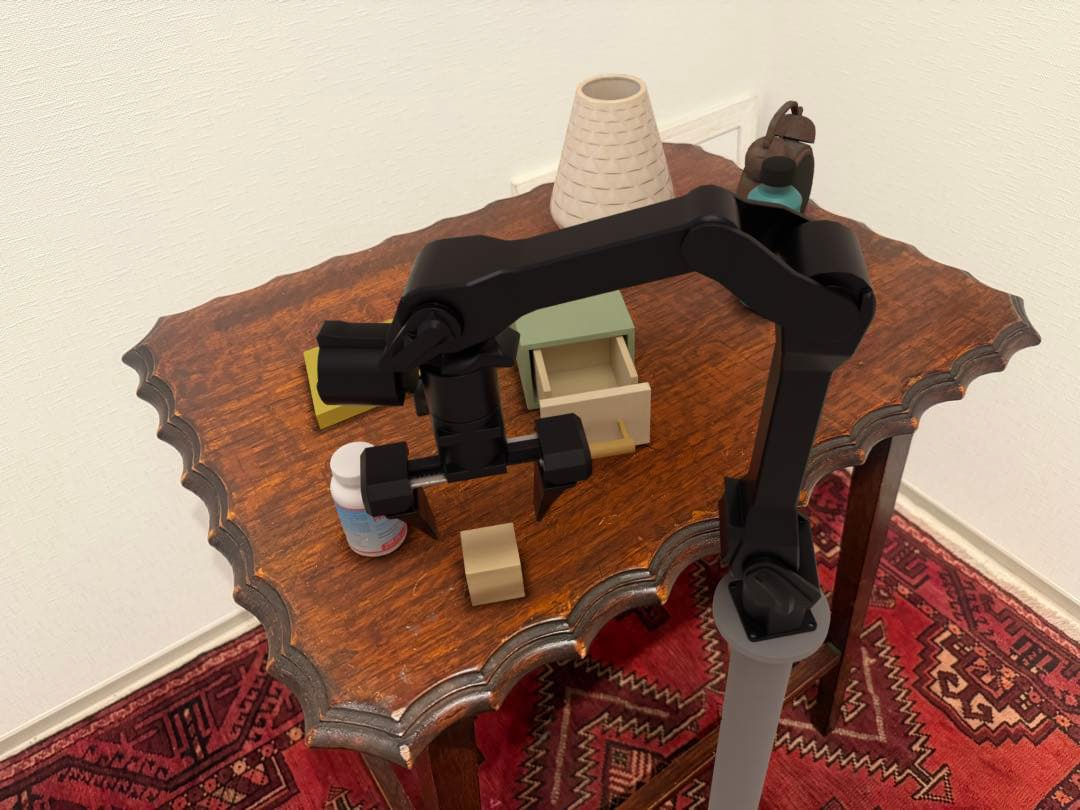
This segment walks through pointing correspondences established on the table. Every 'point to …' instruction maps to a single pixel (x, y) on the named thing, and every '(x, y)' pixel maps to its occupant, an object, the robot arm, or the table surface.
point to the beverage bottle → (777, 184)
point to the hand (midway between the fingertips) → (487, 526)
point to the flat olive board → (323, 412)
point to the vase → (609, 153)
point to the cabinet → (570, 330)
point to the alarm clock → (783, 151)
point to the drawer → (595, 392)
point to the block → (492, 564)
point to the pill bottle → (360, 507)
